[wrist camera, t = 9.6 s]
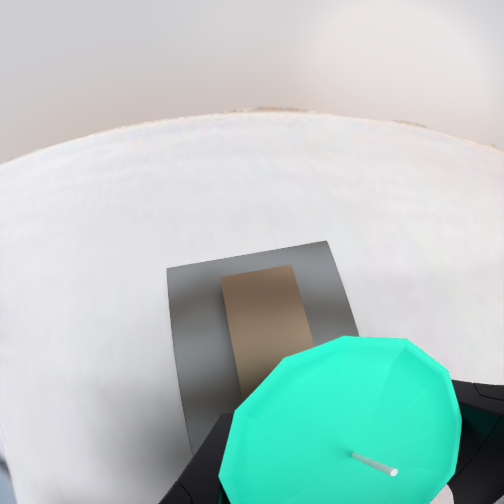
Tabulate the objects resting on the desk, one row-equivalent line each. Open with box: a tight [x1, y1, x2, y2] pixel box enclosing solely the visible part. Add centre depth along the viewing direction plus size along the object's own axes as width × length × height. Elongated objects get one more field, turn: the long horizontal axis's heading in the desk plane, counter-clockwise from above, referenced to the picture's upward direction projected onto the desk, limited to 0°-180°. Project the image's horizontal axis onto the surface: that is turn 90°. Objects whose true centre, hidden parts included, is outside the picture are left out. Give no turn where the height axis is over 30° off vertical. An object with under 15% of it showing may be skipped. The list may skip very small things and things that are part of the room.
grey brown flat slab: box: [167, 241, 359, 456], centre depth 16 cm, size 24×14×3 cm, turn 11°
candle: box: [218, 336, 462, 504], centre depth 8 cm, size 6×6×12 cm
